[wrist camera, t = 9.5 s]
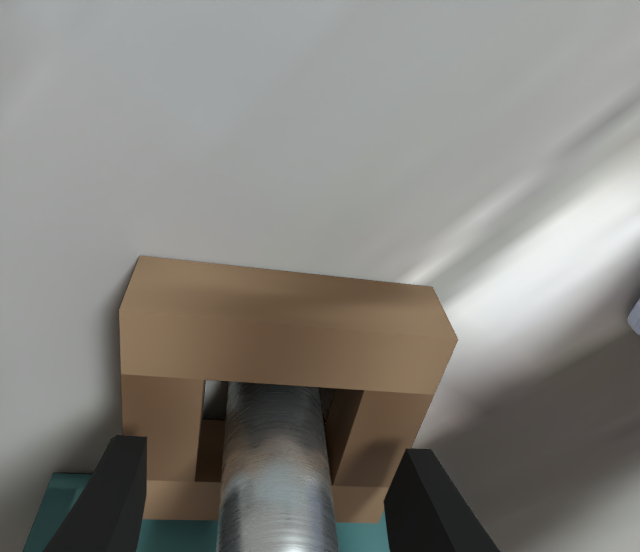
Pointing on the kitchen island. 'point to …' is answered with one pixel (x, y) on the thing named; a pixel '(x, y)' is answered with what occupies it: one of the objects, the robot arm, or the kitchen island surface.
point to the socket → (275, 372)
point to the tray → (175, 525)
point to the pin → (275, 472)
